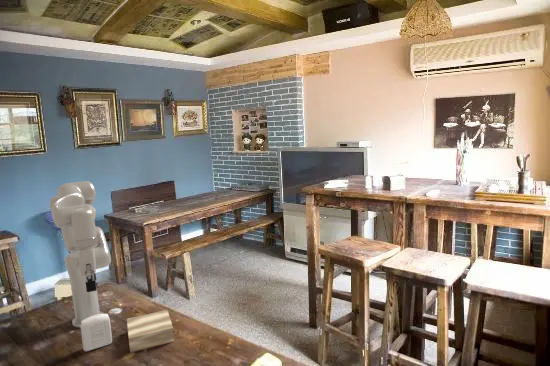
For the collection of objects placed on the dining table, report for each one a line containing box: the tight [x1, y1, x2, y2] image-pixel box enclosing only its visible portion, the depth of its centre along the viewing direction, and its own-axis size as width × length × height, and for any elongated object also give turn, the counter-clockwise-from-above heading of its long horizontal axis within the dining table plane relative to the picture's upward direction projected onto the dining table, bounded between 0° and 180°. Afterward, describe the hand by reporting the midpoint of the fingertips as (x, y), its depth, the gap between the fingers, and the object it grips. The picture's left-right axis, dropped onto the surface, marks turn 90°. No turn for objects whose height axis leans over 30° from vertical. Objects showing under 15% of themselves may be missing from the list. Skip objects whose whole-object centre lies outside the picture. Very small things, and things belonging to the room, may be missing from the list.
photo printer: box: [80, 313, 113, 352], centre depth 146 cm, size 10×4×12 cm, turn 123°
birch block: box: [126, 309, 175, 354], centre depth 151 cm, size 16×16×6 cm
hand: (91, 286), depth 143 cm, fingers open, 9 cm apart
